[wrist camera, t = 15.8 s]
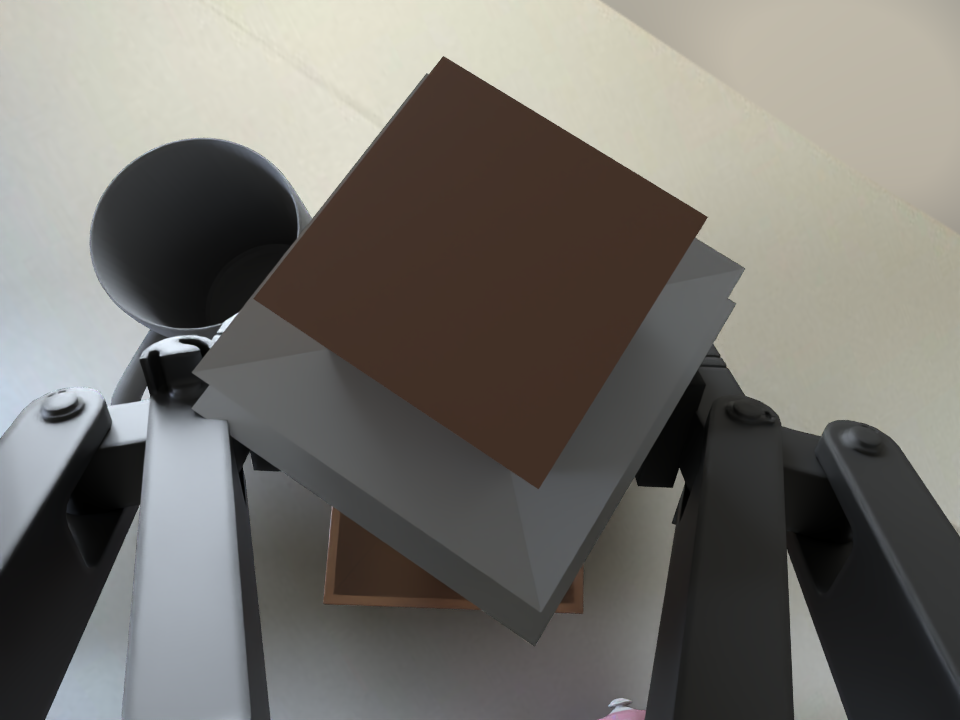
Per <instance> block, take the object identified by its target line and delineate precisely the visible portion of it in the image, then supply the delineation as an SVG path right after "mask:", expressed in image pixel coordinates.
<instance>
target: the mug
mask: <svg viewBox="0 0 960 720" xmlns="http://www.w3.org/2000/svg"><path fill="white" fill-rule="evenodd" d="M311 220H312V218H311V216H310V214H309V213H308V211H307V209H306V207H305V206H304V204H303V202H302V201H301V199H300V198H299V196H298V195H297V193H296V192H295V190H294V188H293V187H292V185H291V184H290V183H289V181H288V180H287V179H286V178H285V176H284V175H283V174H282V173H281V172H280V170H279V169H278V168H277V167H276V166H275V165H273V164H272V163H271V162H270V161H269V160H267V159H266V158H265V157H263V156H262V155H260V154H259V153H257V152H255V151H253V150H252V149H250V148H248V147H245V146H243V145H240V144H237V143H234V142H231V141H226V140H222V139H214V138H191V139H184V140H179V141H174V142H170V143H167V144H164V145H161V146H159V147H157V148H154V149H152V150H150V151H148V152H146V153H144V154H143V155H141V156H140V157H138V158H136V159H135V160H134V161H132V162H131V163H130V164H128V165H127V166H126V167H125V168H124V169H123V170H122V171H121V172H119V174H118V175H117V176H116V177H115V178H114V179H113V180H112V182H111V183H110V184H109V186H108V187H107V188H106V190H105V192H104V193H103V195H102V196H101V199H100V201H99V203H98V205H97V207H96V210H95V213H94V216H93V220H92V224H91V230H90V254H91V259H92V264H93V267H94V270H95V273H96V275H97V277H98V280H99V282H100V283H101V285H102V287H103V288H104V290H105V291H106V293H107V294H108V295H109V297H110V298H111V299H112V300H113V301H114V303H115V304H116V305H117V306H118V307H119V308H121V309H122V310H123V311H124V312H125V313H127V314H128V315H129V316H131V317H132V318H133V319H135V320H136V321H138V322H139V323H141V324H143V325H144V326H146V327H148V328H149V329H150V331H149V332H148V334H147V335H146V337H145V339H144V340H143V342H142V344H141V345H140V347H139V348H138V350H137V352H136V353H135V355H134V357H133V358H132V360H131V362H130V363H129V365H128V367H127V368H126V370H125V372H124V373H123V375H122V377H121V379H120V381H119V382H118V384H117V386H116V389H115V391H114V393H113V396H112V400H111V406H112V405H119V404H125V403H132V402H138V401H141V398H142V395H143V393H144V391H145V389H146V387H147V383H146V380H145V377H144V373H143V370H142V367H141V363H140V360H139V358H140V356H141V354H142V352H143V351H144V350H146V349H147V348H148V347H149V346H151V345H152V344H154V343H157V342H159V341H161V340H164V339H167V338H171V337H176V336H185V335H196V336H201V337H206V338H208V339H210V340H212V338H213V337H214V336H215V335H217V332H218V330H219V329H220V327H221V326H222V325H223V323H224V322H225V321H226V320H227V319H229V318H230V317H232V316H234V315H235V314H237V313H238V312H240V310H241V309H242V308H243V307H244V305H245V304H246V303H247V301H248V300H249V299H250V298H251V296H252V295H253V294H254V293H255V291H256V290H257V289H258V287H259V286H260V285H261V284H262V282H263V281H264V280H265V279H266V277H267V276H268V275H269V273H270V272H271V271H272V270H273V268H274V267H275V266H276V265H277V263H278V262H279V261H280V259H281V258H282V257H283V256H284V254H285V253H286V252H287V251H288V249H289V248H290V247H291V245H292V244H293V243H294V242H295V240H296V239H297V238H298V236H299V235H300V234H301V233H302V231H303V230H304V229H305V228H306V226H307V225H308V224H309V222H310V221H311Z"/></svg>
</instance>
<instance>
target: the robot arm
mask: <svg viewBox="0 0 960 720" xmlns="http://www.w3.org/2000/svg"><path fill="white" fill-rule="evenodd" d="M238 313H239V312H238ZM238 313H237V314H238ZM237 314H235V315H234V316H232V317H230V318H229V319H227V320H226V321H225V322H224V323H223V325H222V326H221V327H220V329H219V330H218V332H217V335H215V336H214V337H213V338H212V340H210V339H208V338H206V337H201V336H196V335H185V336H176V337H171V338H167V339H164V340H161V341H159V342H157V343H154V344H152V345H151V346H149V347H148V348H147V349H146V350H144V351H143V352H142V354H141V356H140V358H139V360H140V363H141V367H142V370H143V373H144V377H145V380H146V383H147V387H148V390H149V393H150V399H148V400H143V401H138V402H132V403H125V404H119V405H112V406H107V405H106V402H105V399H104V397H103V395H102V394H101V392H99V391H97V390H95V389H92V388H85V387H74V388H64V389H60V390H57V391H53V392H50V393H47V394H45V395H43V396H42V397H40V398H38V399H36V400H34V401H32V402H31V403H30V404H29V405H28V406H27V407H26V408H24V409H23V410H22V412H21V413H20V414H19V416H18V417H17V418H16V419H15V421H14V422H13V423H12V424H11V426H10V427H9V428H8V429H7V431H6V432H5V433H4V434H3V436H2V437H1V438H0V720H45V719H46V716H47V714H48V712H49V710H50V707H51V705H52V703H53V701H54V698H55V696H56V694H57V691H58V689H59V687H60V685H61V682H62V680H63V678H64V676H65V673H66V671H67V669H68V666H69V664H70V662H71V660H72V657H73V655H74V653H75V651H76V648H77V646H78V644H79V641H80V639H81V637H82V635H83V632H84V630H85V628H86V626H87V623H88V621H89V619H90V616H91V614H92V612H93V610H94V607H95V605H96V603H97V601H98V598H99V596H100V594H101V591H102V589H103V587H104V585H105V582H106V580H107V578H108V575H109V573H110V571H111V569H112V566H113V564H114V562H115V560H116V557H117V555H118V553H119V550H120V548H121V546H122V544H123V541H124V539H125V537H126V535H127V532H128V530H129V528H130V525H131V523H132V521H133V519H134V516H135V514H136V512H137V510H138V507H139V505H140V514H139V526H138V537H137V548H136V559H135V570H134V581H133V593H132V604H131V615H130V626H129V637H128V649H127V660H126V671H125V682H124V693H123V704H122V716H121V720H270V710H269V701H268V691H267V681H266V672H265V662H264V652H263V643H262V633H261V623H260V614H259V604H258V595H257V585H256V575H255V566H254V556H253V546H252V537H251V527H250V518H249V508H248V498H247V489H246V480H245V475H244V471H243V464H244V462H245V460H246V458H247V456H248V453H249V451H250V454H251V459H252V464H253V469H254V470H260V471H281V470H279V469H278V468H276V467H275V466H273V465H272V464H271V463H269V462H268V461H266V460H265V459H263V458H262V457H260V456H259V455H258V454H256V453H255V452H253V451H252V450H250V449H249V448H247V447H246V446H245V445H243V444H242V443H240V442H239V441H237V440H236V439H234V438H233V437H232V436H230V432H229V425H228V420H219V419H206V418H204V417H203V416H201V415H200V414H198V413H197V412H196V411H194V410H193V409H191V408H192V407H193V406H194V404H195V403H196V402H197V401H198V399H199V398H200V397H201V395H202V394H203V393H204V392H205V390H206V389H207V388H208V386H209V384H208V383H206V382H205V381H203V380H202V379H200V378H199V377H197V376H196V375H194V374H193V373H192V371H193V370H194V369H195V368H196V366H197V365H198V364H199V363H200V361H201V360H202V359H203V357H204V356H205V355H206V354H207V352H208V351H209V350H210V349H211V347H212V346H213V345H214V343H215V342H216V341H217V340H218V338H219V337H220V336H221V335H222V333H223V332H224V331H225V329H226V328H227V327H228V326H229V324H230V323H231V322H232V321H233V319H234V318H235V317H236V315H237ZM679 468H680V470H681V473H682V475H683V478H684V480H685V485H684V488H683V491H682V494H681V497H680V500H679V503H678V506H677V509H676V512H675V515H674V518H673V521H672V524H675V525H676V527H675V533H674V540H673V546H672V552H671V558H670V565H669V571H668V577H667V583H666V590H665V596H664V602H663V608H662V615H661V621H660V627H659V633H658V640H657V646H656V652H655V658H654V665H653V671H652V677H651V683H650V690H649V696H648V702H647V708H646V715H645V720H794V707H793V684H792V661H791V637H790V614H789V591H788V568H787V550H788V553H789V556H790V559H791V562H792V564H793V567H794V570H795V573H796V575H797V578H798V581H799V584H800V587H801V589H802V592H803V595H804V598H805V601H806V603H807V606H808V609H809V612H810V615H811V617H812V620H813V623H814V626H815V629H816V631H817V634H818V637H819V640H820V642H821V645H822V648H823V651H824V654H825V656H826V659H827V662H828V665H829V668H830V670H831V673H832V676H833V679H834V682H835V684H836V687H837V690H838V693H839V696H840V698H841V701H842V704H843V707H844V709H845V712H846V715H847V718H848V720H960V536H959V535H958V533H957V532H956V530H955V529H954V528H953V526H952V525H951V523H950V522H949V520H948V519H947V517H946V516H945V514H944V513H943V511H942V510H941V508H940V507H939V505H938V504H937V502H936V501H935V499H934V498H933V496H932V495H931V493H930V492H929V490H928V489H927V487H926V486H925V484H924V483H923V481H922V480H921V478H920V477H919V475H918V474H917V473H916V471H915V470H914V468H913V467H912V465H911V464H910V462H909V461H908V459H907V458H906V456H905V455H904V453H903V452H902V450H901V449H900V447H899V446H898V445H897V444H896V443H895V442H894V441H893V440H892V439H891V438H890V437H889V436H887V435H886V434H884V433H883V432H881V431H880V430H878V429H876V428H874V427H872V426H869V425H867V424H864V423H859V422H855V421H850V420H837V421H834V422H831V423H828V425H827V426H826V428H825V430H824V432H823V434H822V436H816V435H812V434H808V433H804V432H800V431H796V430H792V429H789V428H786V427H782V426H781V422H780V419H779V416H778V415H777V414H776V413H775V412H774V411H773V410H772V409H771V408H770V407H769V406H767V405H765V404H764V403H762V402H760V401H758V400H755V399H752V398H750V397H747V396H745V395H744V393H743V392H742V390H741V388H740V387H739V385H738V383H737V382H736V380H735V379H734V377H733V375H732V374H731V372H730V370H729V369H728V368H726V364H725V362H724V361H723V359H722V358H720V354H719V353H718V351H717V349H716V348H715V346H714V344H712V346H711V348H710V349H709V351H708V353H707V354H706V356H705V358H704V359H703V361H702V363H701V365H700V366H699V368H698V370H697V371H696V373H695V375H694V376H693V378H692V380H691V382H690V383H689V385H688V387H687V388H686V390H685V392H684V393H683V395H682V397H681V399H680V400H679V402H678V404H677V405H676V407H675V409H674V410H673V412H672V414H671V416H670V417H669V419H668V421H667V422H666V424H665V426H664V427H663V429H662V431H661V433H660V434H659V436H658V438H657V439H656V441H655V443H654V444H653V446H652V448H651V450H650V451H649V453H648V455H647V456H646V458H645V460H644V461H643V463H642V465H641V467H640V468H639V470H638V472H637V473H636V475H635V478H636V482H637V485H638V486H643V487H667V488H673V486H674V482H675V479H676V476H677V473H678V470H679Z"/></svg>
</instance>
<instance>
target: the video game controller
mask: <svg viewBox="0 0 960 720" xmlns="http://www.w3.org/2000/svg"><path fill="white" fill-rule="evenodd" d="M631 703H632V701H631V700H628V699H625V698H618V699H615V700H613V701H612V702H611V703H610V704H609V705H608V706H609V708H614V707H616V708H615V709H614V710H613V711H612V712H611V713H610V714H609V715H607V716H606V717H605V718H601V719H598V720H645V715H646V710H637V709H633V708H631V707H627V706H626V705H628V704H631Z"/></svg>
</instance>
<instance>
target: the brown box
mask: <svg viewBox="0 0 960 720" xmlns="http://www.w3.org/2000/svg"><path fill="white" fill-rule="evenodd" d="M583 594H584V563H583V565H582V567H581V569H580V570H579V572H578V574H577V575H576V577H575V579H574V580H573V582H572V584H571V586H570V587H569V589H568V591H567V592H566V594H565V596H564V597H563V599H562V601H561V603H560V604H559V606H558V608H557V609H556V611H555V613H572V614H583ZM323 604H330V605H357V606H384V607H410V608H437V609H464V610H481V609H480V608H478V607H477V606H476V605H474V604H473V603H471V602H470V601H468V600H467V599H465V598H464V597H463V596H461V595H460V594H458V593H457V592H455V591H454V590H452V589H451V588H450V587H448V586H447V585H445V584H444V583H442V582H441V581H439V580H438V579H437V578H435V577H434V576H432V575H431V574H429V573H428V572H426V571H425V570H424V569H422V568H421V567H419V566H418V565H416V564H415V563H413V562H412V561H411V560H409V559H408V558H406V557H405V556H403V555H402V554H400V553H399V552H398V551H396V550H395V549H393V548H392V547H390V546H389V545H387V544H386V543H385V542H383V541H382V540H380V539H379V538H377V537H376V536H374V535H373V534H372V533H370V532H369V531H367V530H366V529H364V528H363V527H361V526H360V525H359V524H357V523H356V522H354V521H353V520H351V519H350V518H349V517H347V516H346V515H344V514H343V513H341V512H340V511H338V510H337V509H336V508H334V507H333V506H332V509H331V520H330V531H329V542H328V553H327V565H326V576H325V587H324V598H323Z"/></svg>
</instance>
